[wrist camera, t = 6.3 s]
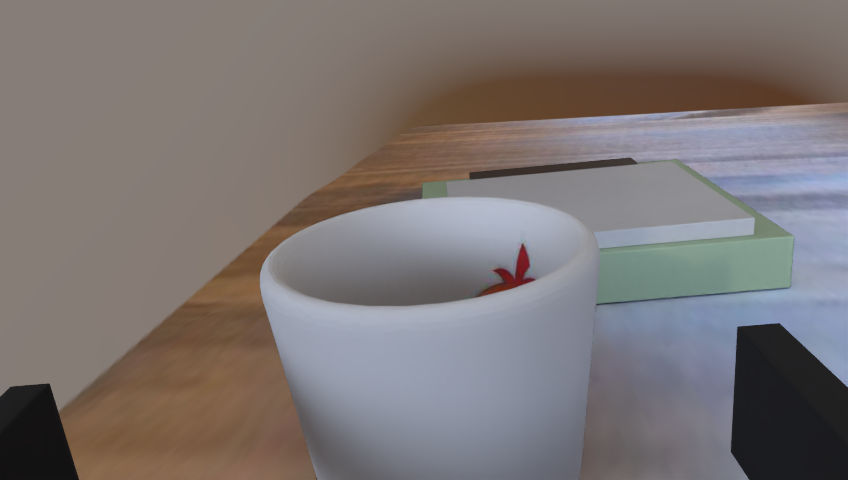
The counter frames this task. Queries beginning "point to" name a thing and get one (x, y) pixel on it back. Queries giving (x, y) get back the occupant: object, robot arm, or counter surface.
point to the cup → (438, 339)
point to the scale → (650, 225)
